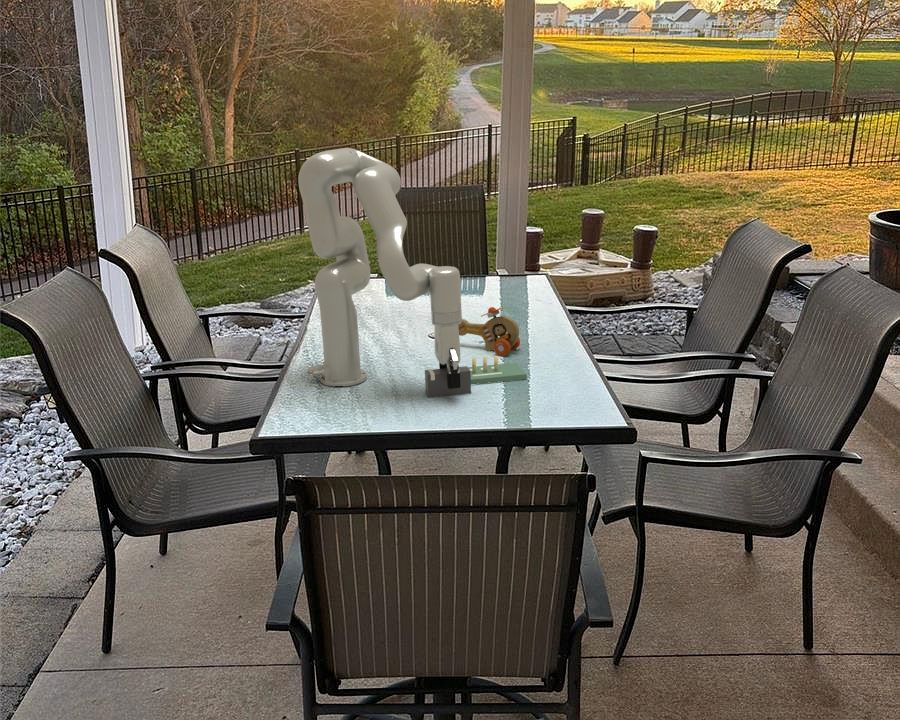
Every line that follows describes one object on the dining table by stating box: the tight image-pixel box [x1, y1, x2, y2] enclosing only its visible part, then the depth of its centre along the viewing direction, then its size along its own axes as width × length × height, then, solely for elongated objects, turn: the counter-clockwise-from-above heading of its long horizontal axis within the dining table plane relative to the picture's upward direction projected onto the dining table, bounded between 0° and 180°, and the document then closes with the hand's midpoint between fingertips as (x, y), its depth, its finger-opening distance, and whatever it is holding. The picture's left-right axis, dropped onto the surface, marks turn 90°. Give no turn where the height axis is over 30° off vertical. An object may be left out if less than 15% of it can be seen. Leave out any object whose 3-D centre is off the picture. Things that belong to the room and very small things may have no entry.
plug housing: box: [424, 366, 472, 398], centre depth 222 cm, size 11×4×6 cm, turn 102°
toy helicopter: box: [458, 306, 521, 357], centre depth 255 cm, size 8×21×14 cm, turn 60°
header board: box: [467, 355, 528, 385], centre depth 233 cm, size 20×10×6 cm, turn 102°
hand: (450, 381), depth 222 cm, fingers open, 9 cm apart
